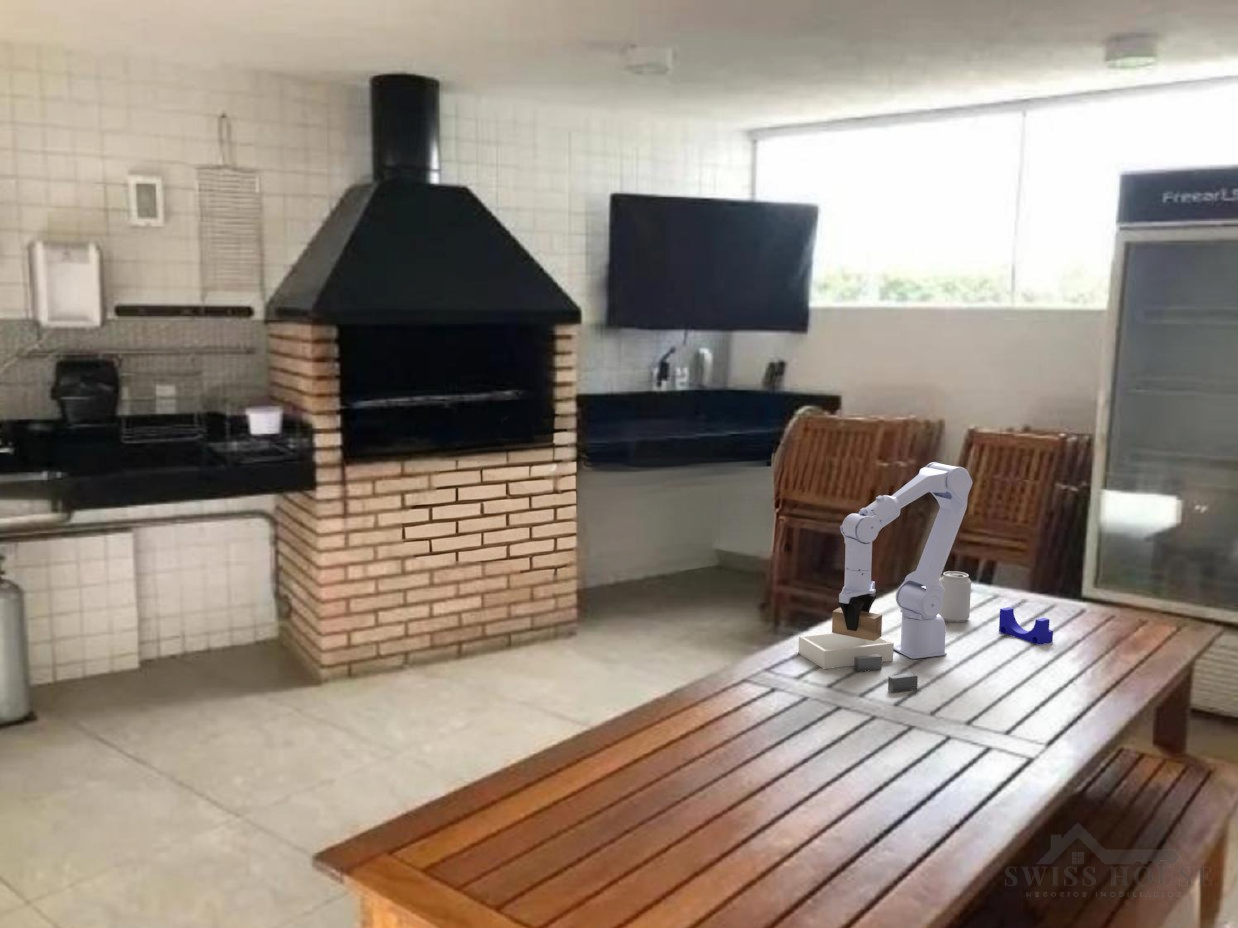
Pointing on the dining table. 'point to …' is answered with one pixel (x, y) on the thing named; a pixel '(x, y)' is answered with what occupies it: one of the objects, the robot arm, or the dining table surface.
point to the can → (956, 596)
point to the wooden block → (866, 627)
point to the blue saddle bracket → (1012, 628)
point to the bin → (841, 649)
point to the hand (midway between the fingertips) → (856, 627)
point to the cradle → (894, 682)
